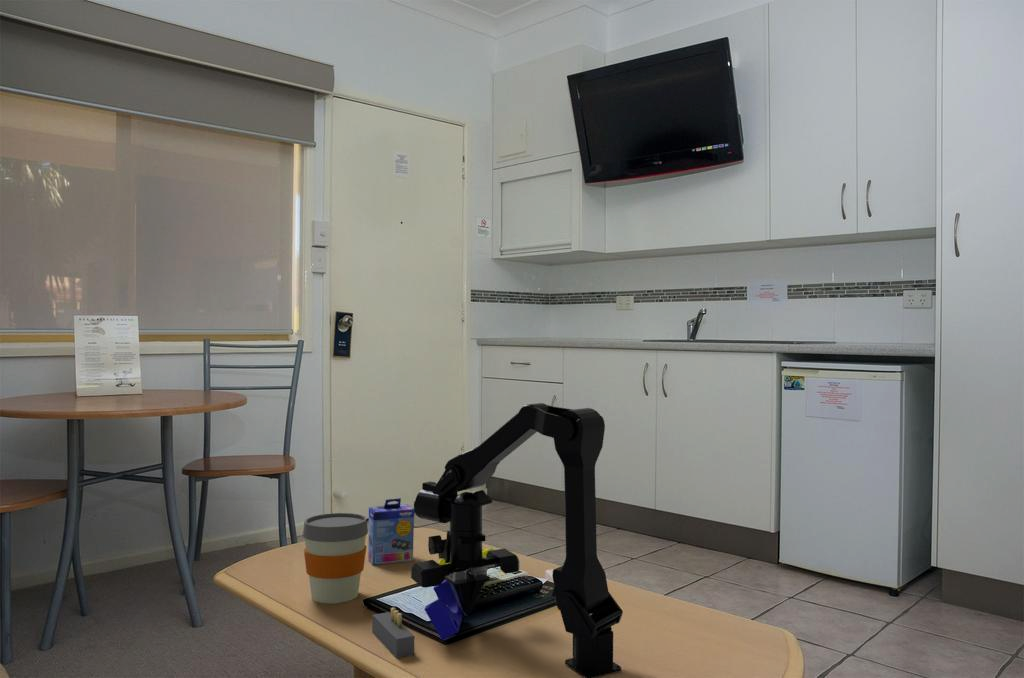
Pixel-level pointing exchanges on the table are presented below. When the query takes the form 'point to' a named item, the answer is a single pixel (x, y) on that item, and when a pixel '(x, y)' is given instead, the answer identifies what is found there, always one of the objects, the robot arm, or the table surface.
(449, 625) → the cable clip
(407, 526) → the ink cartridge box
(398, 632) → the header strip
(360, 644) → the table surface
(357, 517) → the reusable coffee cup
